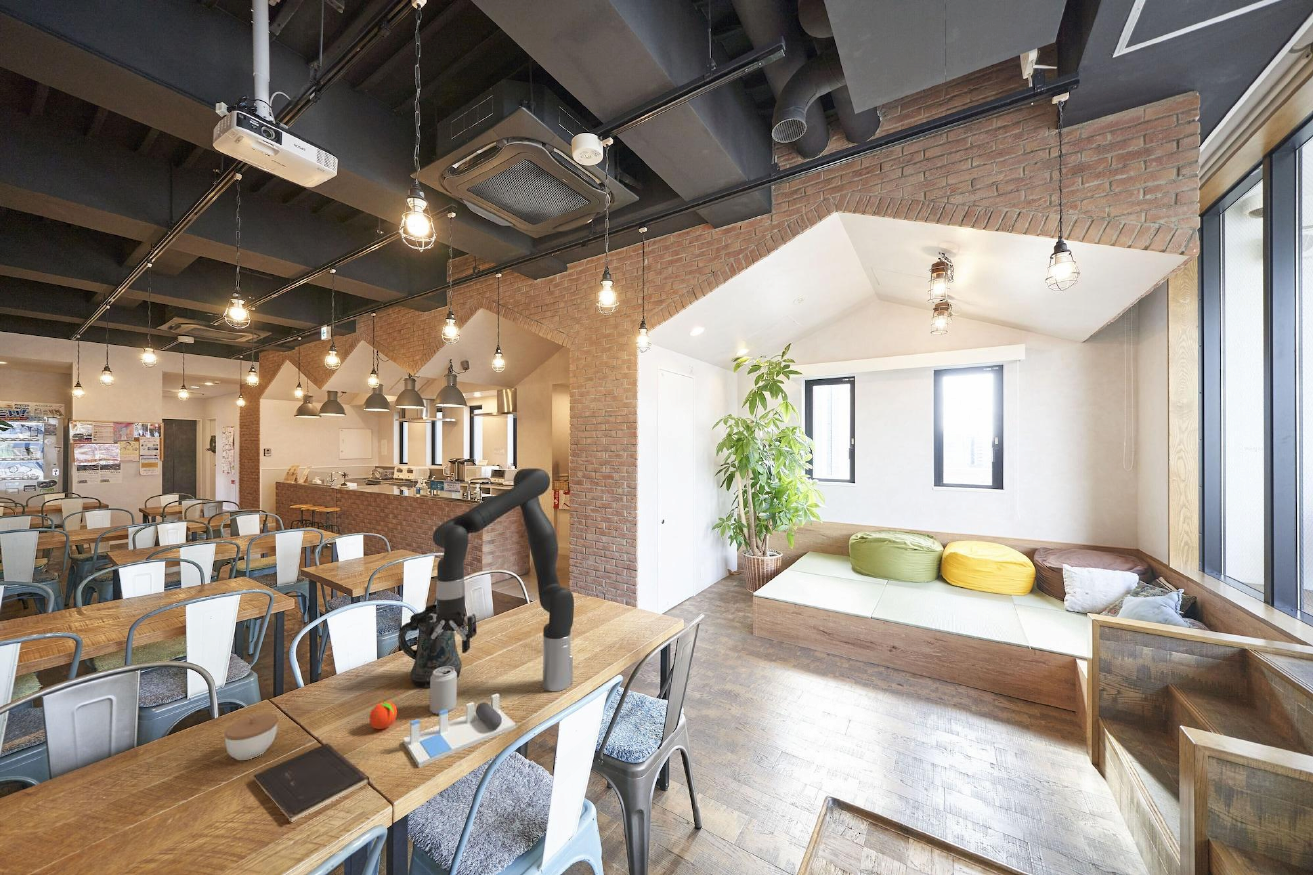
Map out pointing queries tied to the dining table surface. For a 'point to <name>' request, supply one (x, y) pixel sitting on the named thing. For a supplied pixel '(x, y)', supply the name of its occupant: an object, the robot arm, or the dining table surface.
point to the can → (443, 689)
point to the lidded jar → (251, 736)
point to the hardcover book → (310, 781)
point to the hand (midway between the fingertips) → (451, 651)
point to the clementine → (383, 715)
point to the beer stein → (428, 649)
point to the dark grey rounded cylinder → (488, 715)
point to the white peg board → (453, 734)
